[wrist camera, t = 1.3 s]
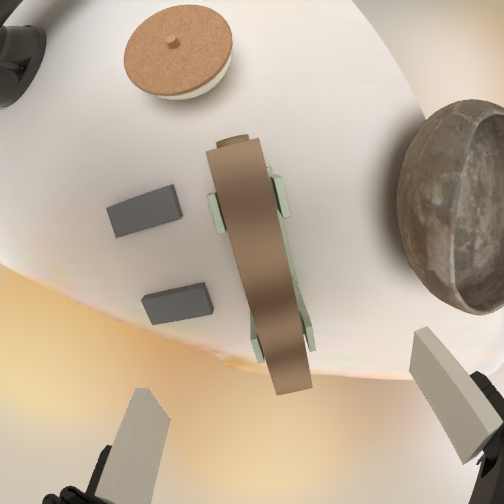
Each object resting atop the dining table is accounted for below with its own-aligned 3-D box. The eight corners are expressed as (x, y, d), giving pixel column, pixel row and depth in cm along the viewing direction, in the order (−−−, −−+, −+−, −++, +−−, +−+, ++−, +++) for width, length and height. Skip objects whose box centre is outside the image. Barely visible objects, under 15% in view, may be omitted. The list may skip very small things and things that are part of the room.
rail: (213, 146, 21) (203, 143, 16) (254, 136, 21) (256, 129, 16) (274, 366, 28) (278, 399, 24) (305, 359, 28) (313, 391, 23)
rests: (111, 206, 31) (106, 208, 30) (173, 184, 31) (169, 185, 29) (155, 319, 37) (152, 325, 35) (213, 308, 36) (212, 314, 35)
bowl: (357, 276, 35) (410, 341, 21) (366, 92, 27) (436, 60, 13) (473, 269, 35) (529, 309, 21) (487, 129, 27) (554, 133, 13)
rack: (219, 179, 31) (202, 190, 19) (270, 166, 30) (283, 169, 19) (255, 306, 36) (257, 367, 25) (299, 295, 36) (318, 353, 24)
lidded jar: (136, 100, 27) (100, 83, 18) (167, 28, 24) (143, -6, 15) (218, 118, 28) (205, 101, 19) (248, 42, 25) (247, 4, 16)
